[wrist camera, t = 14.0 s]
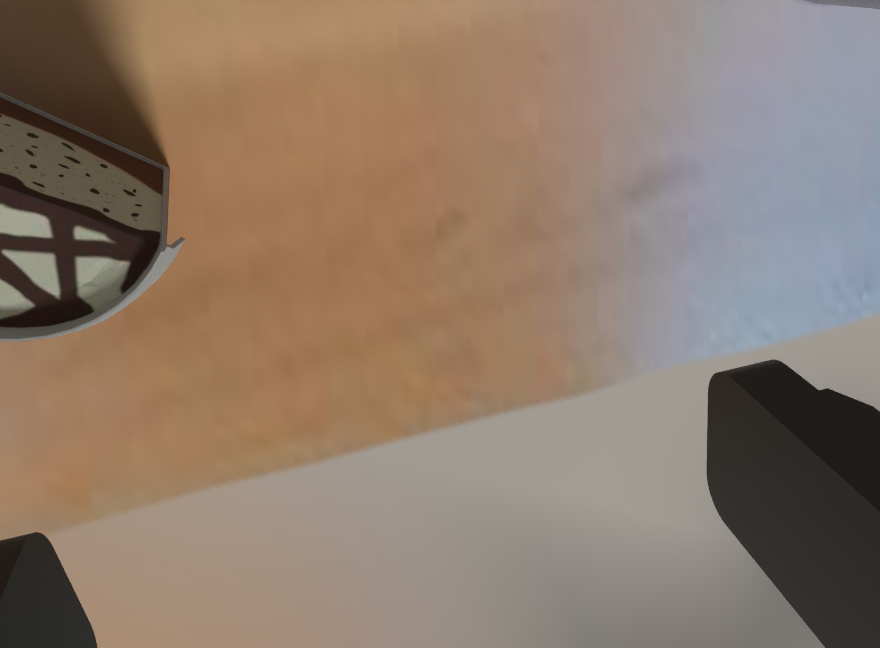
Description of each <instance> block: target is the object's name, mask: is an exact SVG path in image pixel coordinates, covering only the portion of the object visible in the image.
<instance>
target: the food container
mask: <svg viewBox="0 0 880 648" xmlns="http://www.w3.org/2000/svg"><path fill="white" fill-rule="evenodd" d="M169 174H170V168H169V167H167V166H164V165H162V164H160V163H158V162H155V161H153V160H151V159H149V158H146V157H144V156H142V155H140V154H138V153H135V152H133V151H131V150H129V149H126V148H124V147H122V146H120V145H117V144H115V143H113V142H111V141H109V140H106V139H104V138H102V137H100V136H97V135H95V134H93V133H91V132H88V131H86V130H84V129H82V128H80V127H77V126H75V125H73V124H71V123H68V122H66V121H64V120H62V119H60V118H57V117H55V116H53V115H51V114H48V113H46V112H44V111H42V110H39V109H37V108H35V107H33V106H31V105H28V104H26V103H24V102H22V101H19V100H17V99H15V98H13V97H10V96H8V95H6V94H4V93H2V92H0V341H26V340H34V339H43V338H52V337H56V336H60V335H64V334H68V333H72V332H76V331H80V330H82V329H84V328H87V327H89V326H92V325H94V324H96V323H99V322H101V321H103V320H105V319H107V318H109V317H110V316H112V315H113V314H115V313H117V312H118V311H120V310H122V309H123V308H125V307H126V306H128V305H129V304H130V303H131V302H133V301H134V300H135V299H136V298H137V297H139V296H140V295H141V294H142V293H143V292H144V291H145V290H147V289H148V288H149V287H150V286H151V285H152V284H153V283H154V282H156V281H157V280H158V279H159V277H160V276H161V275H162V274H163V272H164V271H165V270H166V269H167V267H168V266H169V265H170V264H171V262H172V261H173V260H174V259H175V257H176V255H177V253H178V251H179V249H180V248H181V246H182V244H183V242H184V240H185V239H184V238H182V237H181V238H179V239H178V240H177V241H175V242H174V243H173V244H172V245H168V244H167V224H168V199H169Z"/></svg>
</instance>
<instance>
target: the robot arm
mask: <svg viewBox="0 0 880 648" xmlns="http://www.w3.org/2000/svg"><path fill="white" fill-rule="evenodd" d="M807 1H809V2H812V3H815V4H827V5H838V6H850V7H862V8H873V9H880V0H807ZM707 430H708V431H707V481H708V486H709V490H710V494H711V497H712V500H713V503H714V505H715V507H716V509H717V511H718V513H719V515H720V517H721V518H722V520H723V521H724V523H725V524H726V525H727V527H728V528H729V529H730V530H731V532H732V533H733V534H734V535H735V536H736V538H737V539H738V540H739V541H740V543H741V544H742V545H743V546H744V548H745V549H746V550H747V551H748V553H749V554H750V555H751V556H752V558H753V559H754V560H755V561H756V563H757V564H758V565H759V566H760V567H761V569H762V570H763V571H764V572H765V574H766V575H767V576H768V577H769V578H770V580H771V581H772V582H773V583H774V585H775V586H776V587H777V588H778V589H779V591H780V592H781V593H782V595H783V596H784V597H785V598H786V600H787V601H788V602H789V603H790V604H791V605H792V607H793V608H794V609H795V611H796V612H797V613H798V614H799V616H800V617H801V618H802V619H803V621H804V622H805V623H806V624H807V625H808V627H809V628H810V629H811V630H812V632H813V633H814V634H815V635H816V636H817V638H818V639H819V640H820V641H821V643H822V644H823V645H824V646H825V648H880V412H879V411H878V410H877V409H875V408H874V407H873V406H870V405H868V404H865V403H863V402H860V401H858V400H855V399H853V398H850V397H848V396H845V395H843V394H840V393H838V392H835V391H833V390H830V389H828V388H827V389H823V390H817V389H816V388H815V387H814V386H812V385H811V384H810V383H808V382H807V381H806V380H805V379H803V378H802V377H801V376H800V375H798V374H797V373H796V372H794V371H793V370H792V369H790V368H789V367H788V366H787V365H785V364H784V363H782V362H781V361H778V360H769V361H764V362H761V363H756V364H752V365H748V366H743V367H739V368H735V369H731V370H727V371H722V372H718V373H715V374H714V375H713V376H712V378H711V380H710V383H709V388H708V429H707ZM0 648H97V643H96V639H95V635H94V632H93V629H92V626H91V624H90V622H89V620H88V618H87V616H86V614H85V612H84V610H83V608H82V606H81V603H80V601H79V599H78V597H77V595H76V593H75V591H74V589H73V587H72V585H71V583H70V581H69V579H68V577H67V575H66V573H65V571H64V569H63V567H62V565H61V562H60V560H59V558H58V556H57V554H56V552H55V550H54V548H53V546H52V544H51V543H50V541H49V540H48V539H47V537H45V536H44V535H43V534H41V533H38V532H35V533H31V534H27V535H22V536H18V537H14V538H10V539H6V540H1V541H0Z"/></svg>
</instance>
